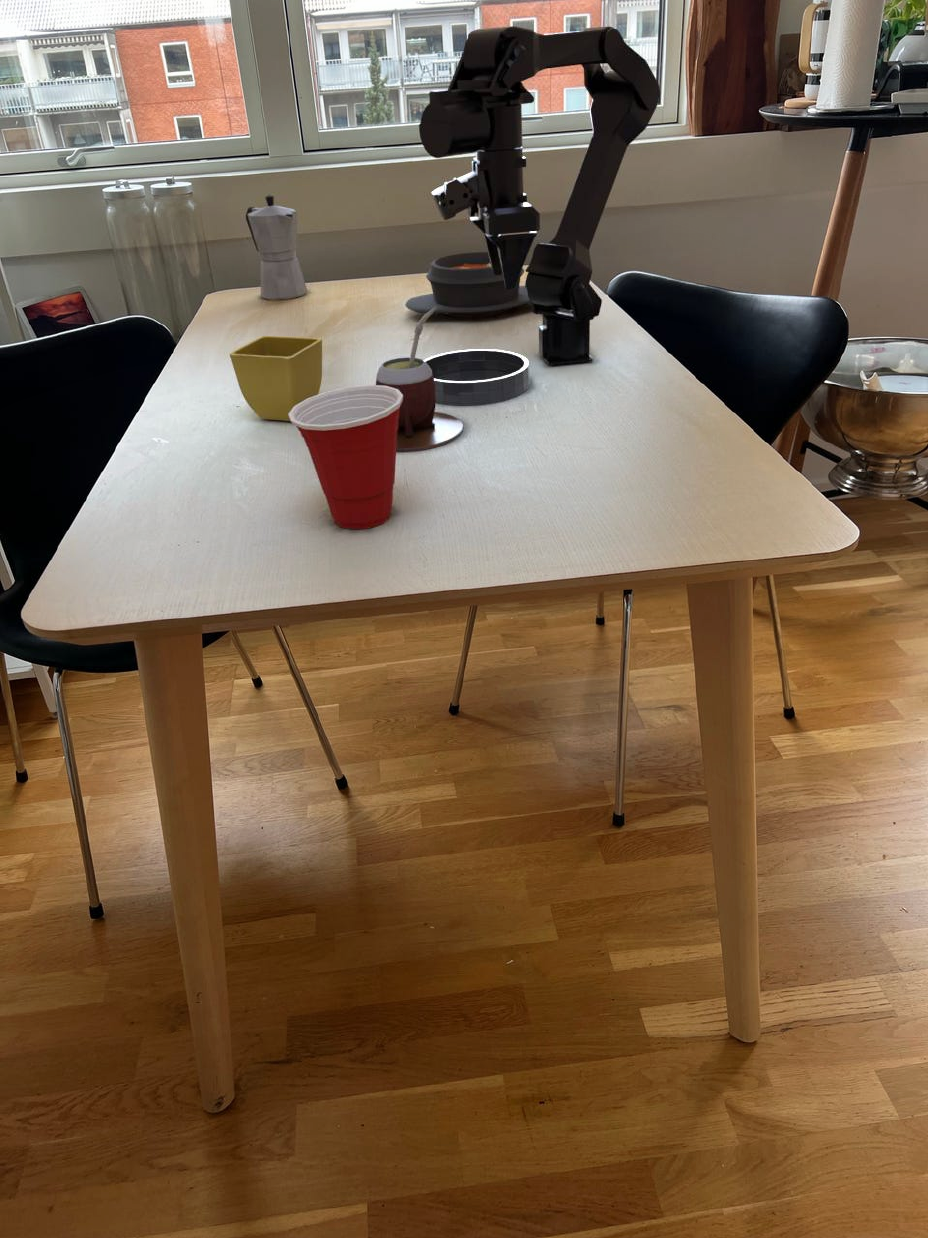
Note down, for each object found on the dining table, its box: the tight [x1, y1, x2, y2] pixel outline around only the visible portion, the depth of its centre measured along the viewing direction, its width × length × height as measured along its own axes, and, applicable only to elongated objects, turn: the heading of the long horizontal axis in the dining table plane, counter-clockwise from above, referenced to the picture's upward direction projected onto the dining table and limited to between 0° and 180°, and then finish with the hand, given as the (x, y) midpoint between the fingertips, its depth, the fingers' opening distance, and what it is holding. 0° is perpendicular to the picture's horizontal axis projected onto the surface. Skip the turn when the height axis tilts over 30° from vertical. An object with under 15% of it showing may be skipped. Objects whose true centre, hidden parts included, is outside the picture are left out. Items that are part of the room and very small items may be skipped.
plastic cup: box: [288, 384, 403, 530], centre depth 90 cm, size 11×11×12 cm
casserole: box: [404, 251, 531, 318], centre depth 162 cm, size 25×19×8 cm
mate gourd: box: [375, 307, 437, 438], centre depth 109 cm, size 8×8×15 cm
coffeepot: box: [245, 194, 308, 301], centre depth 180 cm, size 15×9×18 cm, turn 44°
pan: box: [423, 348, 530, 407], centre depth 126 cm, size 15×15×3 cm
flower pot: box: [229, 335, 323, 422], centre depth 119 cm, size 9×9×9 cm
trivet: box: [396, 411, 464, 453], centre depth 113 cm, size 13×13×1 cm
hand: (503, 281), depth 122 cm, fingers open, 9 cm apart
